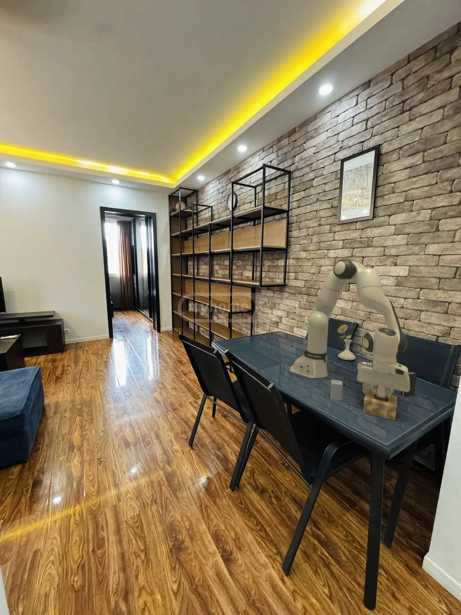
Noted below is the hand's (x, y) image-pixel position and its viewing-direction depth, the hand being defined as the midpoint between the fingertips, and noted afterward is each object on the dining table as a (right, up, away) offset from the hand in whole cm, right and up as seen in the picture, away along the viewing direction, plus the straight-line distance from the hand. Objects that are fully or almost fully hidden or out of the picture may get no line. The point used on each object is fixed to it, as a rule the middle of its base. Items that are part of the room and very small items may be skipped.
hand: (381, 395), depth 114 cm
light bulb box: (+6, -5, +16) cm, 18 cm away
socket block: (0, -7, +1) cm, 7 cm away
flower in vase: (+15, +2, +69) cm, 70 cm away
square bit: (-15, -5, +12) cm, 20 cm away
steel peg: (0, -4, 0) cm, 4 cm away
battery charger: (+23, -5, +17) cm, 29 cm away
